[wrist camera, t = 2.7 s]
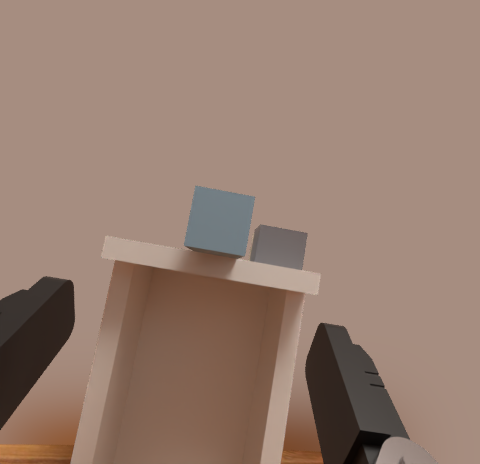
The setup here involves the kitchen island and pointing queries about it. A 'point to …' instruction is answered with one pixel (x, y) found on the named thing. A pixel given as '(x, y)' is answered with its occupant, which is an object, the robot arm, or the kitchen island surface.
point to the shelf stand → (192, 359)
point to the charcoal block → (278, 247)
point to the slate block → (219, 222)
